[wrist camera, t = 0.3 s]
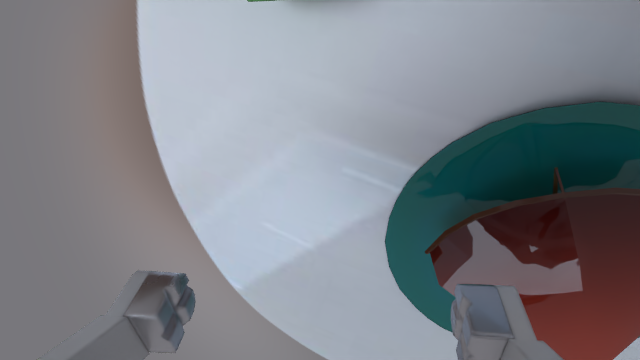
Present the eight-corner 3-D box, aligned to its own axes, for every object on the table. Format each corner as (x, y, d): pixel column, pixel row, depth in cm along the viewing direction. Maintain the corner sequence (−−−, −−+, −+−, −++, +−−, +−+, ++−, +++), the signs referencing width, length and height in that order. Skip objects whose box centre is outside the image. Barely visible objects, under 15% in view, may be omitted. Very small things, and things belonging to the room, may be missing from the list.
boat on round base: (798, 45, 22) (1063, 123, 13) (710, 334, 36) (812, 471, 27) (353, 137, 32) (330, 220, 23) (415, 339, 45) (417, 442, 36)
